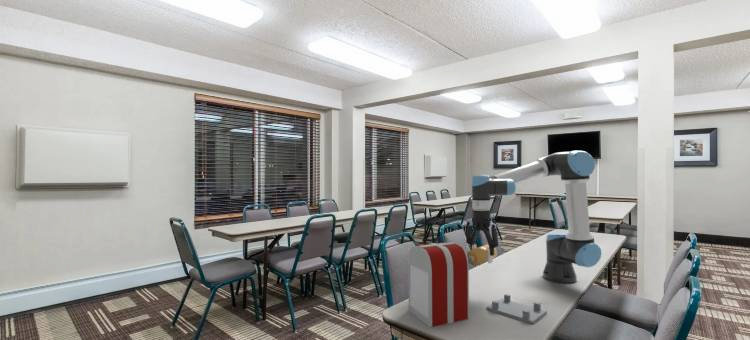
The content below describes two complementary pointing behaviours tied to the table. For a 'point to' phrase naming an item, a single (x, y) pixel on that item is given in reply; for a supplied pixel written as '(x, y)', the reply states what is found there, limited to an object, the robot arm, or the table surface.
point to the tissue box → (439, 283)
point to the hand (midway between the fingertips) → (482, 261)
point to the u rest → (517, 310)
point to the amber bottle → (479, 255)
